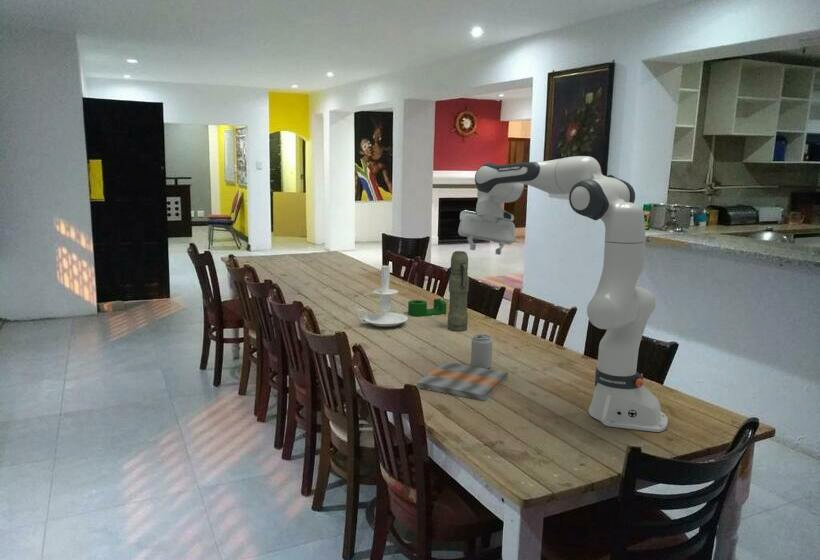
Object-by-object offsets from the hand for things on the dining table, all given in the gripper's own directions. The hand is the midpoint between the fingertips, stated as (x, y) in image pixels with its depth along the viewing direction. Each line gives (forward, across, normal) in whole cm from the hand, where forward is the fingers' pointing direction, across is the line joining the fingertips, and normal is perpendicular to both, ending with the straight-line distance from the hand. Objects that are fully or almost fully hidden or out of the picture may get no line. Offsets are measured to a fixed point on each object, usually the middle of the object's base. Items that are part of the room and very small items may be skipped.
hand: (485, 251), depth 214 cm
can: (+37, +10, +23) cm, 44 cm away
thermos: (+15, +15, +69) cm, 72 cm away
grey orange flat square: (+44, -1, +10) cm, 46 cm away
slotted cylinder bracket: (+4, +6, +96) cm, 96 cm away
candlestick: (+16, -18, +82) cm, 85 cm away
